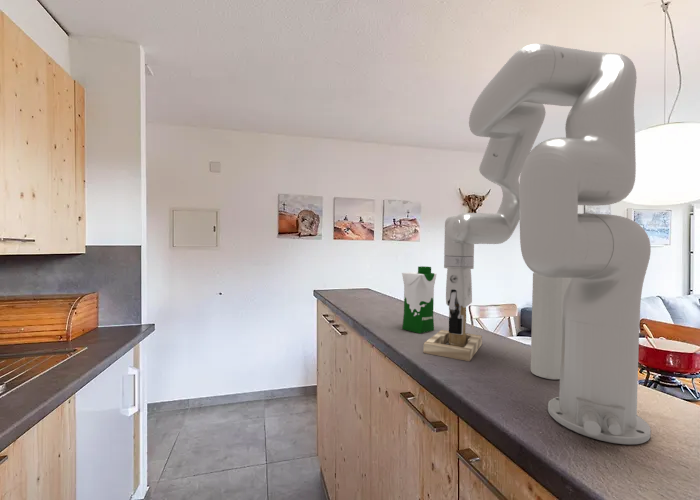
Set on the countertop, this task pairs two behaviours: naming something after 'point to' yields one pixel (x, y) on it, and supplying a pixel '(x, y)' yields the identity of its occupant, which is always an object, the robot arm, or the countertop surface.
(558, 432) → the countertop surface
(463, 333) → the sprinkles bottle
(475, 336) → the wooden frame
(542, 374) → the paper towel roll
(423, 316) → the milk carton
